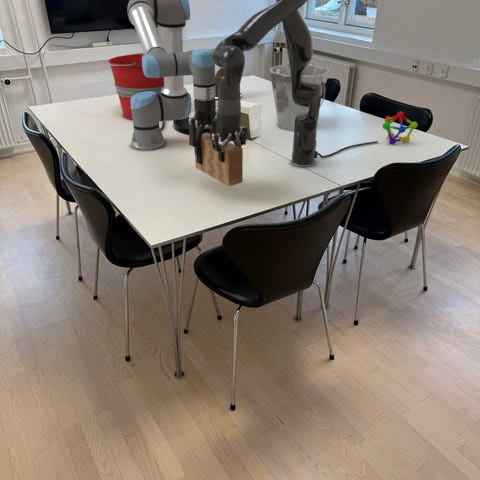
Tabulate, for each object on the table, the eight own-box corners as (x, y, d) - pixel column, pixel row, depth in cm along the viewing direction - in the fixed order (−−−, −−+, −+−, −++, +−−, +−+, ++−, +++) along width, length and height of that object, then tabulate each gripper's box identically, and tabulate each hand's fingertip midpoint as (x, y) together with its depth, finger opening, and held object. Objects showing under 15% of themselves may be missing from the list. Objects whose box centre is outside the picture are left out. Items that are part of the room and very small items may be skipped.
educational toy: (377, 146, 209) (379, 114, 202) (384, 138, 219) (386, 107, 211) (411, 149, 202) (415, 116, 195) (417, 141, 212) (420, 109, 204)
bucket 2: (296, 138, 215) (301, 78, 201) (255, 124, 234) (256, 68, 219) (335, 125, 232) (342, 70, 217) (294, 113, 251) (297, 61, 236)
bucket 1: (122, 105, 264) (115, 51, 248) (181, 105, 263) (177, 51, 248) (106, 122, 235) (96, 62, 219) (171, 123, 234) (167, 63, 218)
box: (195, 167, 167) (193, 135, 161) (208, 164, 171) (207, 132, 164) (229, 186, 153) (228, 152, 147) (242, 182, 157) (242, 148, 150)
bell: (227, 105, 294) (202, 96, 282) (238, 66, 289) (213, 55, 277) (243, 108, 280) (217, 98, 268) (255, 66, 275) (229, 55, 263)
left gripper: (187, 105, 145) (191, 170, 158) (233, 96, 155) (233, 158, 167) (175, 100, 150) (180, 164, 163) (220, 92, 160) (221, 152, 172)
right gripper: (218, 117, 138) (219, 167, 147) (253, 109, 145) (252, 158, 154) (204, 112, 143) (206, 161, 152) (239, 104, 150) (239, 151, 159)
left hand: (207, 161), depth 165 cm, fingers closed on box, 6 cm apart
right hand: (229, 159), depth 153 cm, fingers closed on box, 6 cm apart
